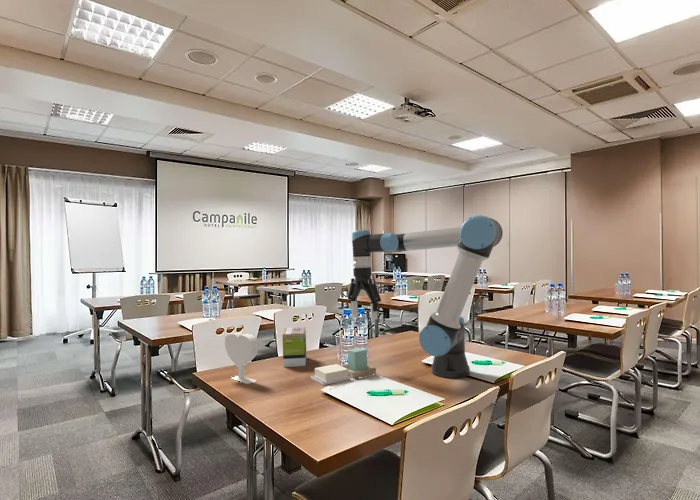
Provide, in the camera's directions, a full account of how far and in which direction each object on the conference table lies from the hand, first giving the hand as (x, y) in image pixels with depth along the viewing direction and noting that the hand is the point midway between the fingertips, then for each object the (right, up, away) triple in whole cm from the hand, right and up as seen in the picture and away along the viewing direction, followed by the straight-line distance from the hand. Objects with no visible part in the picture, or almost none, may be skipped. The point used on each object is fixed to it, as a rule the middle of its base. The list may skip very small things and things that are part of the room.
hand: (364, 317), depth 168 cm
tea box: (-31, -23, +15) cm, 41 cm away
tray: (-3, -22, -4) cm, 23 cm away
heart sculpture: (-49, -23, -9) cm, 55 cm away
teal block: (-3, -21, -4) cm, 22 cm away
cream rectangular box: (-14, -22, -11) cm, 28 cm away
